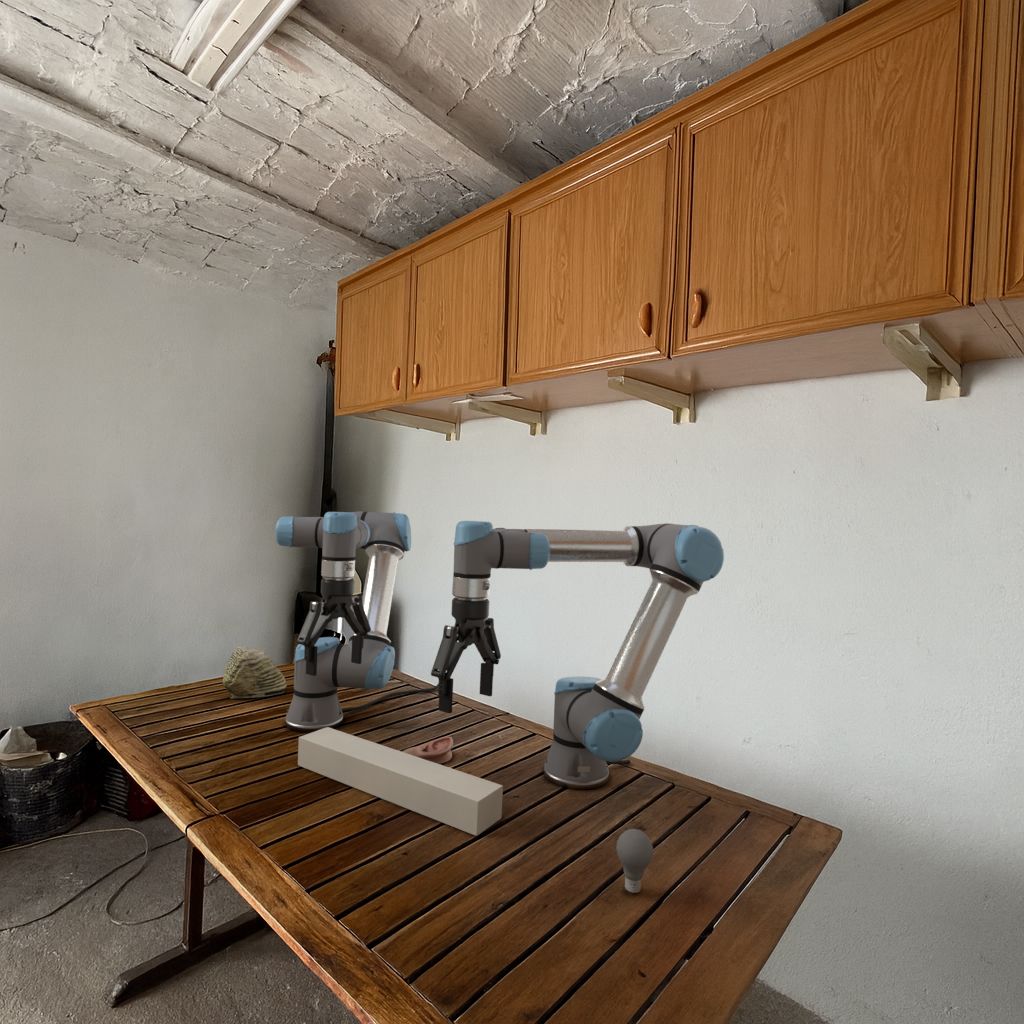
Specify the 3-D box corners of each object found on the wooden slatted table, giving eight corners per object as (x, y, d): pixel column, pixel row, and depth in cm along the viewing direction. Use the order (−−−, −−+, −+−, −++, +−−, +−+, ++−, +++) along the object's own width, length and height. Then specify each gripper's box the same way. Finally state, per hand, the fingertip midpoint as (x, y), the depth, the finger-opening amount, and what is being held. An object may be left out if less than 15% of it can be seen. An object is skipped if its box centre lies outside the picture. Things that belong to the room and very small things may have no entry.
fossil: (218, 695, 195) (220, 647, 195) (278, 685, 208) (279, 640, 207) (228, 703, 189) (230, 653, 188) (289, 692, 201) (290, 645, 201)
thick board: (297, 765, 149) (298, 737, 149) (326, 753, 156) (327, 726, 156) (476, 836, 121) (478, 801, 121) (501, 818, 128) (503, 785, 128)
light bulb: (610, 879, 108) (613, 822, 108) (644, 879, 109) (647, 822, 109) (619, 902, 102) (622, 840, 102) (655, 901, 103) (658, 840, 103)
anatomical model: (390, 746, 152) (408, 729, 163) (390, 762, 152) (407, 745, 163) (443, 753, 149) (457, 735, 160) (443, 770, 149) (457, 751, 160)
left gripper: (305, 584, 135) (301, 683, 136) (387, 575, 156) (384, 661, 157) (282, 580, 139) (278, 676, 140) (365, 572, 160) (362, 655, 161)
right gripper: (446, 607, 115) (441, 724, 115) (519, 593, 136) (515, 692, 136) (415, 602, 119) (410, 714, 119) (490, 589, 140) (486, 685, 140)
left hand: (334, 668), depth 148 cm, fingers open, 13 cm apart
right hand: (466, 703), depth 127 cm, fingers open, 13 cm apart
